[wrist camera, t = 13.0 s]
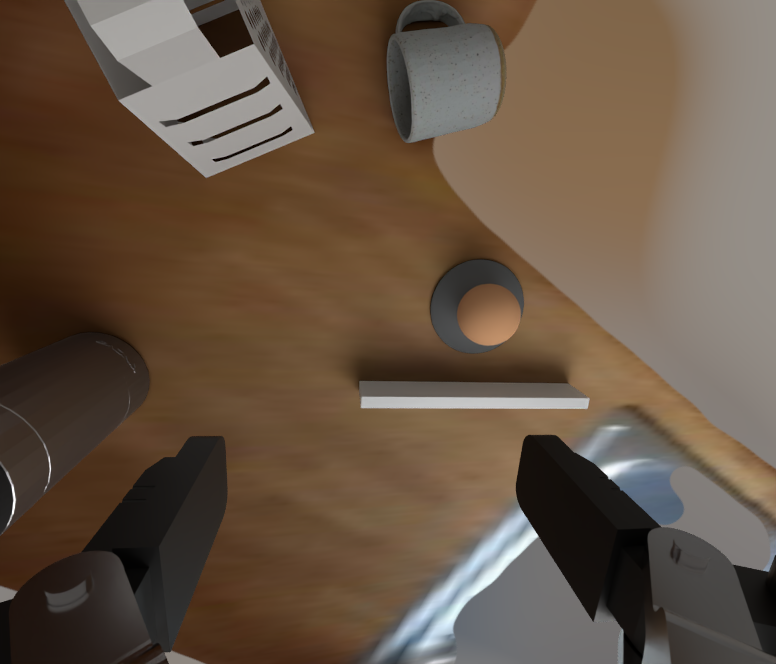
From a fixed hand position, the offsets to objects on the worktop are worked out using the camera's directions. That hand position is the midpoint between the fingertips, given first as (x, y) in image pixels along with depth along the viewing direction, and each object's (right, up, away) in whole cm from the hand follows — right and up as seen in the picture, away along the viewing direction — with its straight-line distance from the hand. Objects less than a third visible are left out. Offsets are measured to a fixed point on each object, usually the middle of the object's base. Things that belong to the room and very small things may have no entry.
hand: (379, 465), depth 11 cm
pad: (+10, +6, +31) cm, 33 cm away
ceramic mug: (+4, +26, +25) cm, 36 cm away
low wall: (+9, -3, +33) cm, 35 cm away
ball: (+10, +5, +28) cm, 30 cm away
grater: (-13, +24, +23) cm, 36 cm away
